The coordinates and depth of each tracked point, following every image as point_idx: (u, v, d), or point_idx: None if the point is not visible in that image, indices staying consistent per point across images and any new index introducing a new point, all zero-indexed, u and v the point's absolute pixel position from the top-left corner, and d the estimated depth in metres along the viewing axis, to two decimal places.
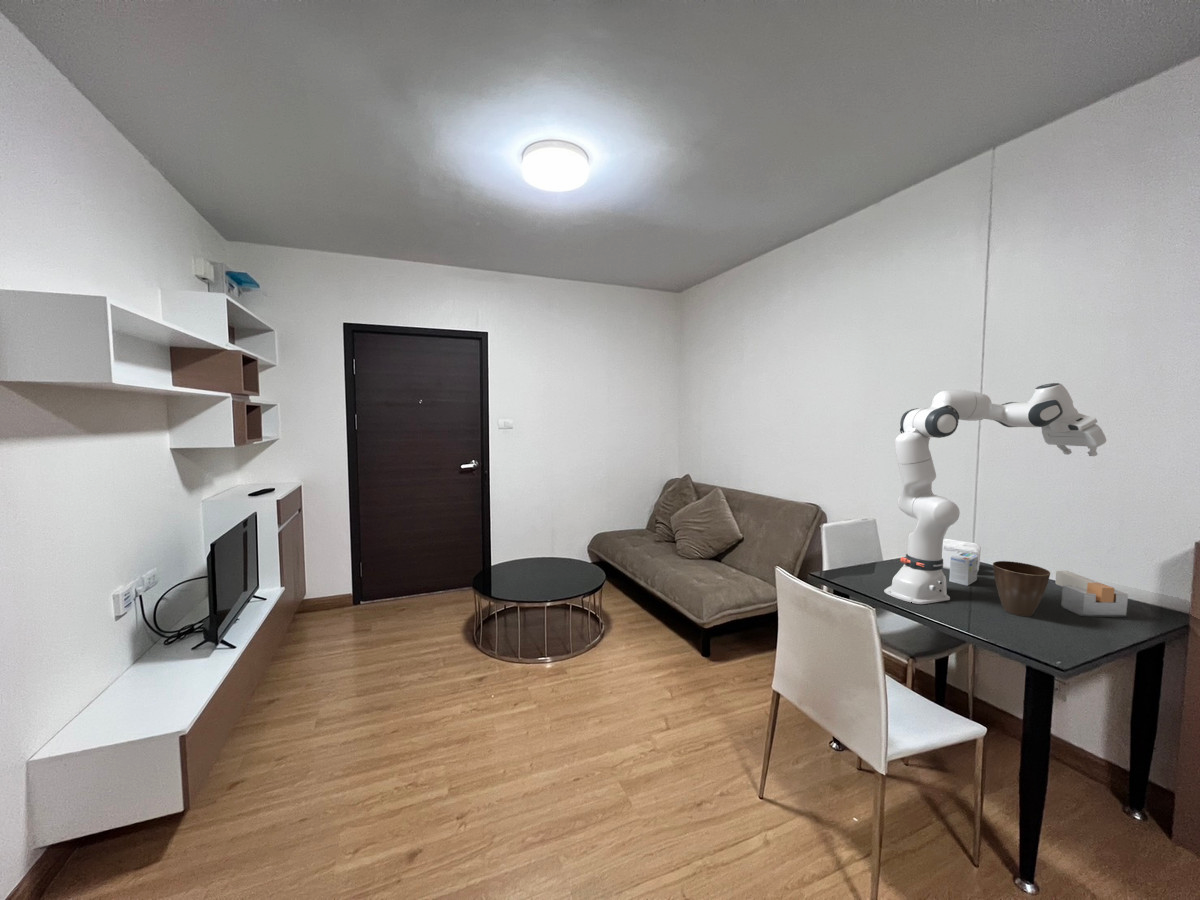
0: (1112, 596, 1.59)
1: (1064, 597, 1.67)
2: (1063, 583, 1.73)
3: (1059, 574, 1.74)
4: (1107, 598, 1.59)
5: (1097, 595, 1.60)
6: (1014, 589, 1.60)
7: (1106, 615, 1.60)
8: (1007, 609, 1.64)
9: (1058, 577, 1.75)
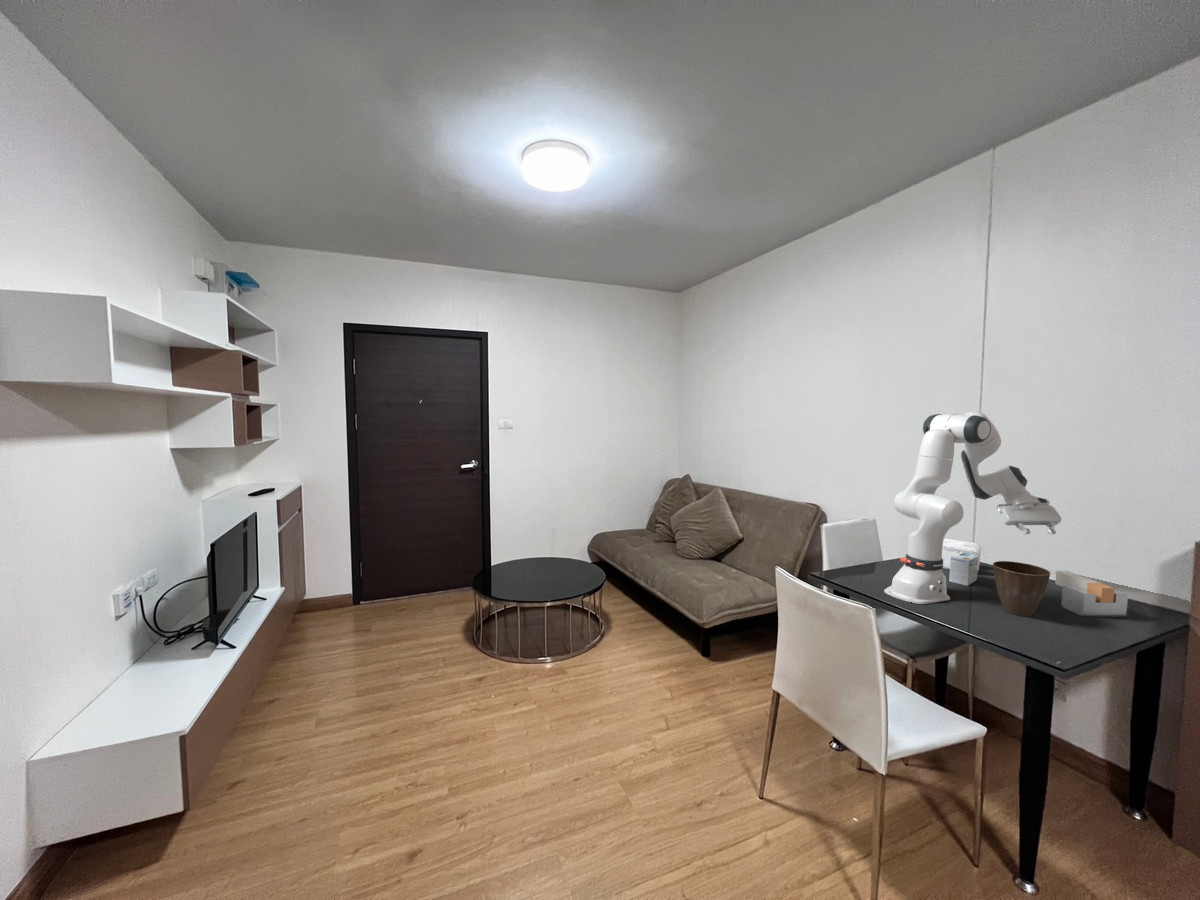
0: (1112, 596, 1.59)
1: (1064, 597, 1.67)
2: (1063, 583, 1.73)
3: (1059, 574, 1.74)
4: (1107, 598, 1.59)
5: (1097, 595, 1.60)
6: (1014, 589, 1.60)
7: (1106, 615, 1.60)
8: (1007, 609, 1.64)
9: (1058, 577, 1.75)
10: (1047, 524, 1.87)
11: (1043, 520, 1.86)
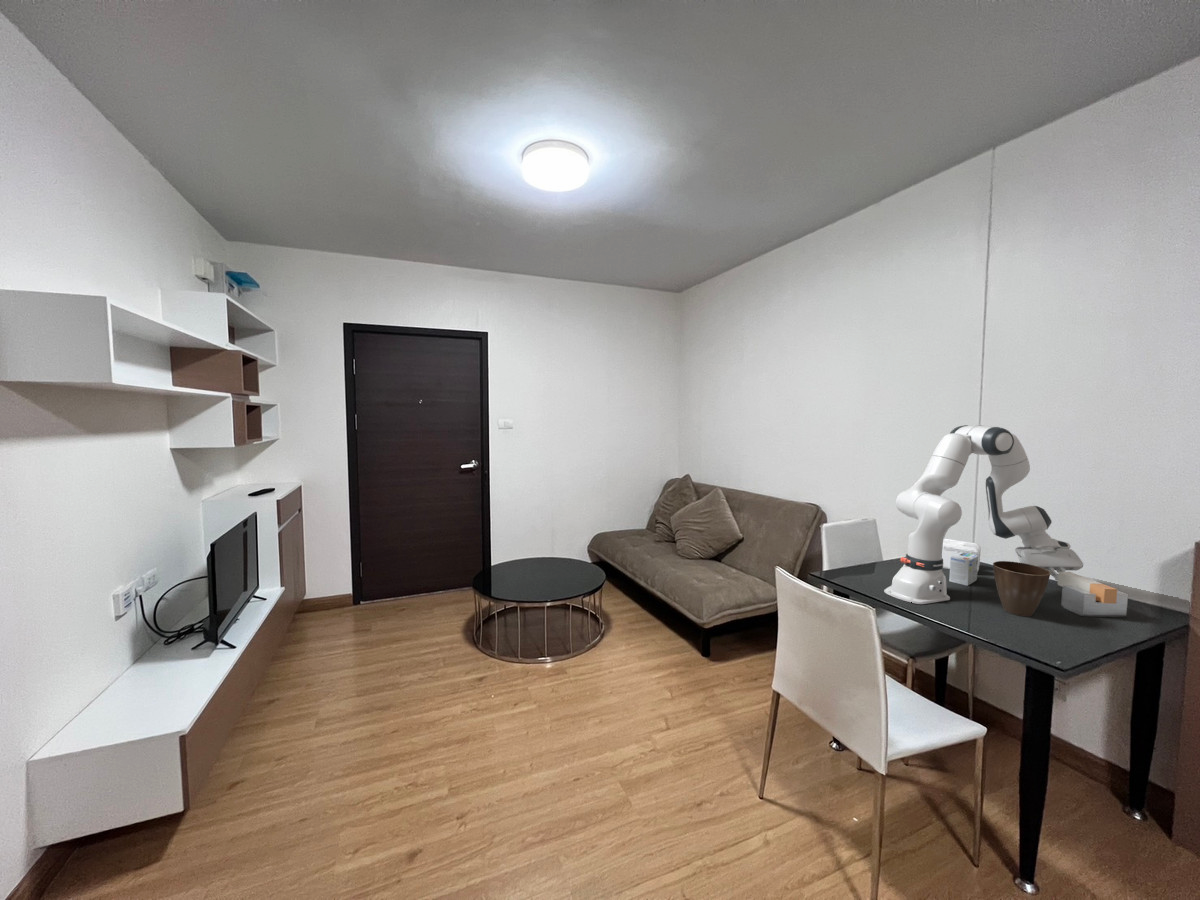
0: (1115, 597, 1.58)
1: (1064, 597, 1.67)
2: (1065, 584, 1.72)
3: (1062, 575, 1.73)
4: (1110, 599, 1.58)
5: (1100, 596, 1.59)
6: (1014, 589, 1.60)
7: (1106, 615, 1.60)
8: (1007, 609, 1.64)
9: (1060, 578, 1.74)
10: (1057, 569, 1.78)
11: (1064, 565, 1.77)
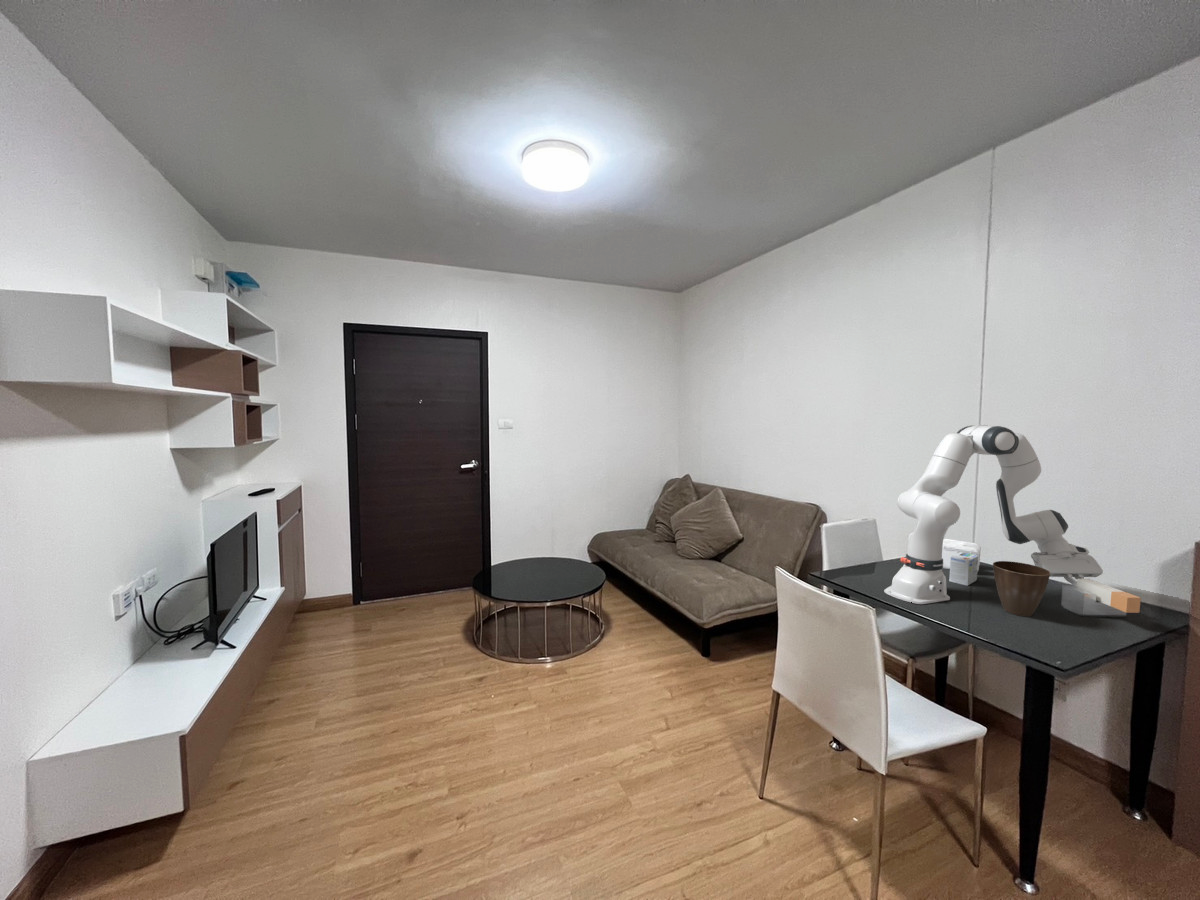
0: (1138, 606, 1.51)
1: (1064, 597, 1.67)
2: None
3: (1081, 582, 1.66)
4: (1133, 608, 1.51)
5: (1122, 605, 1.52)
6: (1014, 589, 1.60)
7: (1106, 615, 1.60)
8: (1007, 609, 1.64)
9: (1079, 585, 1.67)
10: (1075, 576, 1.71)
11: (1083, 572, 1.70)
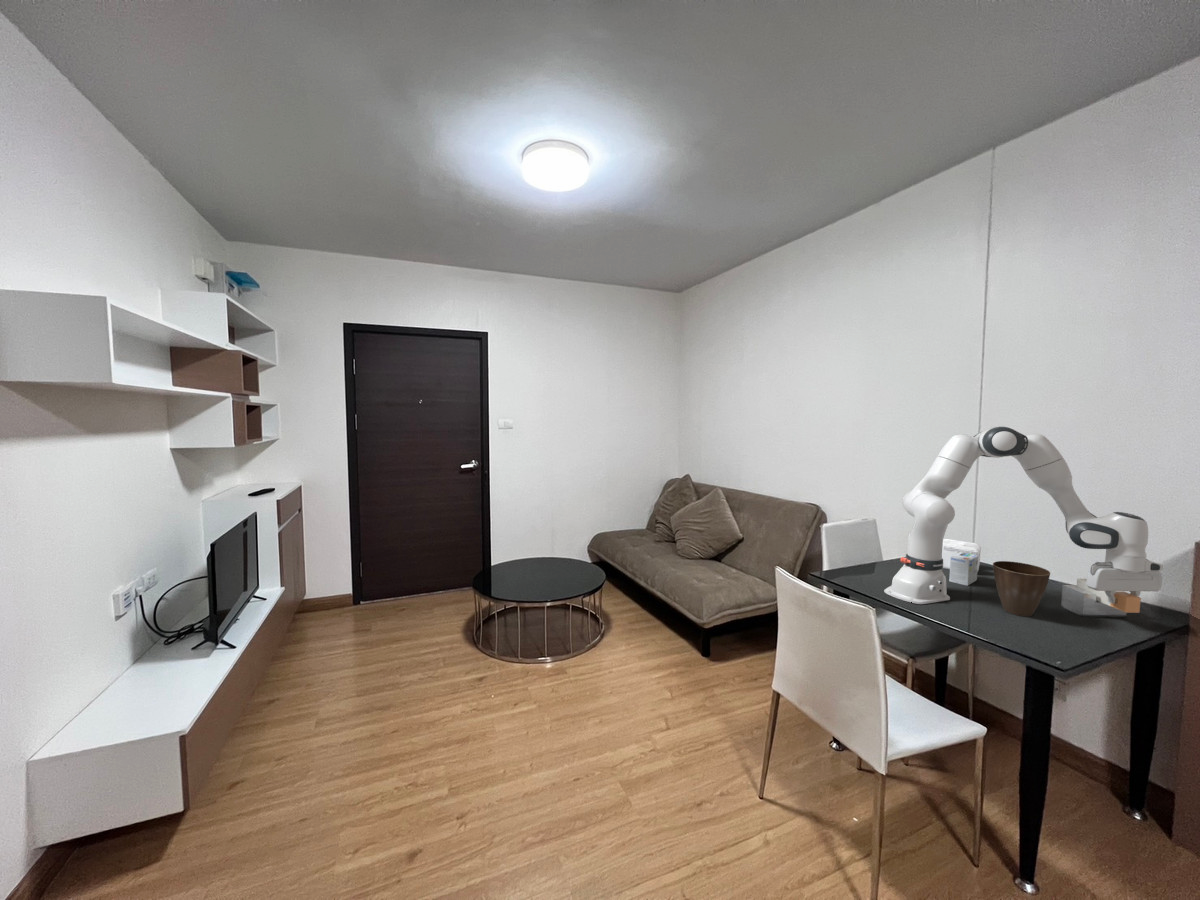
0: (1138, 606, 1.51)
1: (1064, 597, 1.67)
2: None
3: (1081, 583, 1.66)
4: (1133, 608, 1.51)
5: (1122, 605, 1.52)
6: (1014, 589, 1.60)
7: (1106, 615, 1.60)
8: (1007, 609, 1.64)
9: (1079, 585, 1.67)
10: None
11: (1137, 590, 1.52)
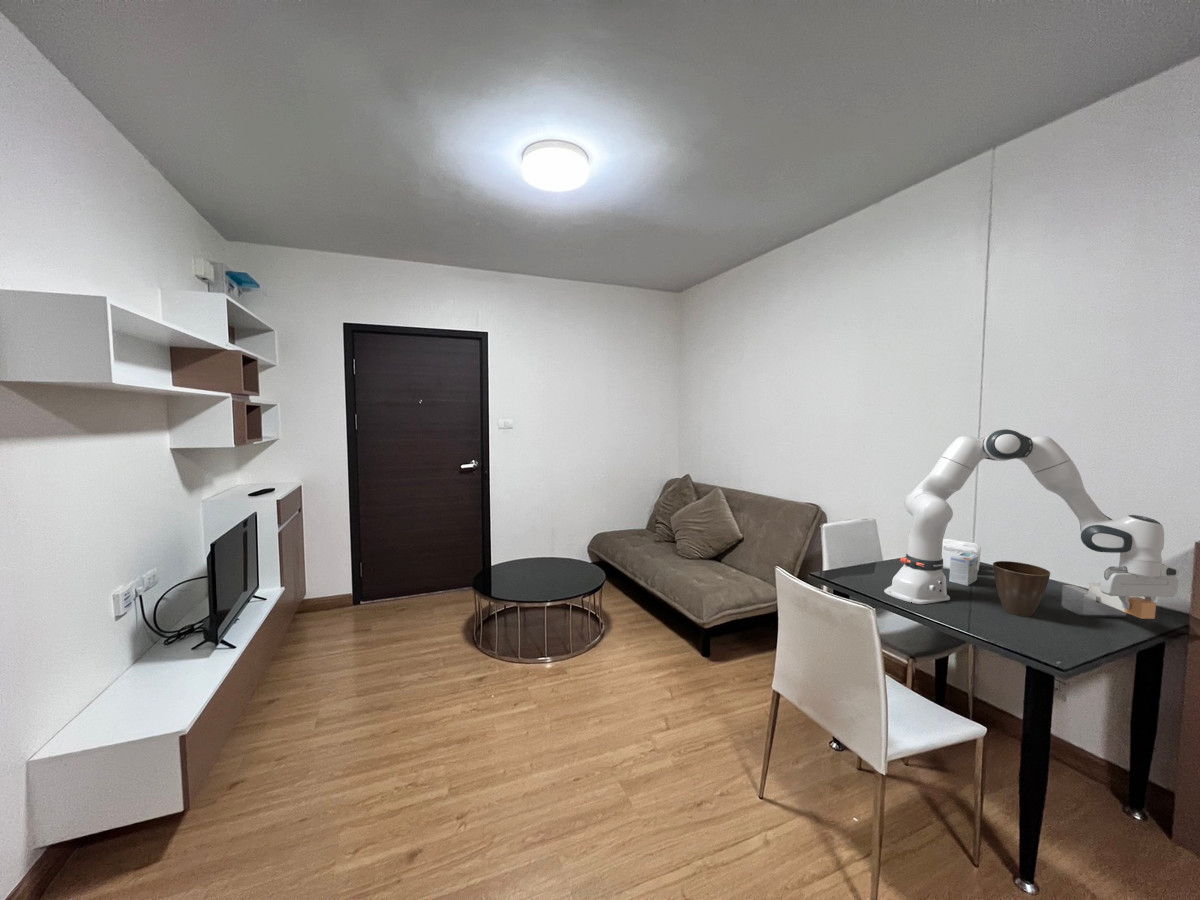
0: (1153, 612, 1.46)
1: (1064, 597, 1.67)
2: (1097, 597, 1.60)
3: (1093, 587, 1.62)
4: (1148, 614, 1.46)
5: (1137, 611, 1.48)
6: (1014, 589, 1.60)
7: (1106, 615, 1.60)
8: (1007, 609, 1.64)
9: (1091, 590, 1.62)
10: None
11: (1152, 595, 1.48)
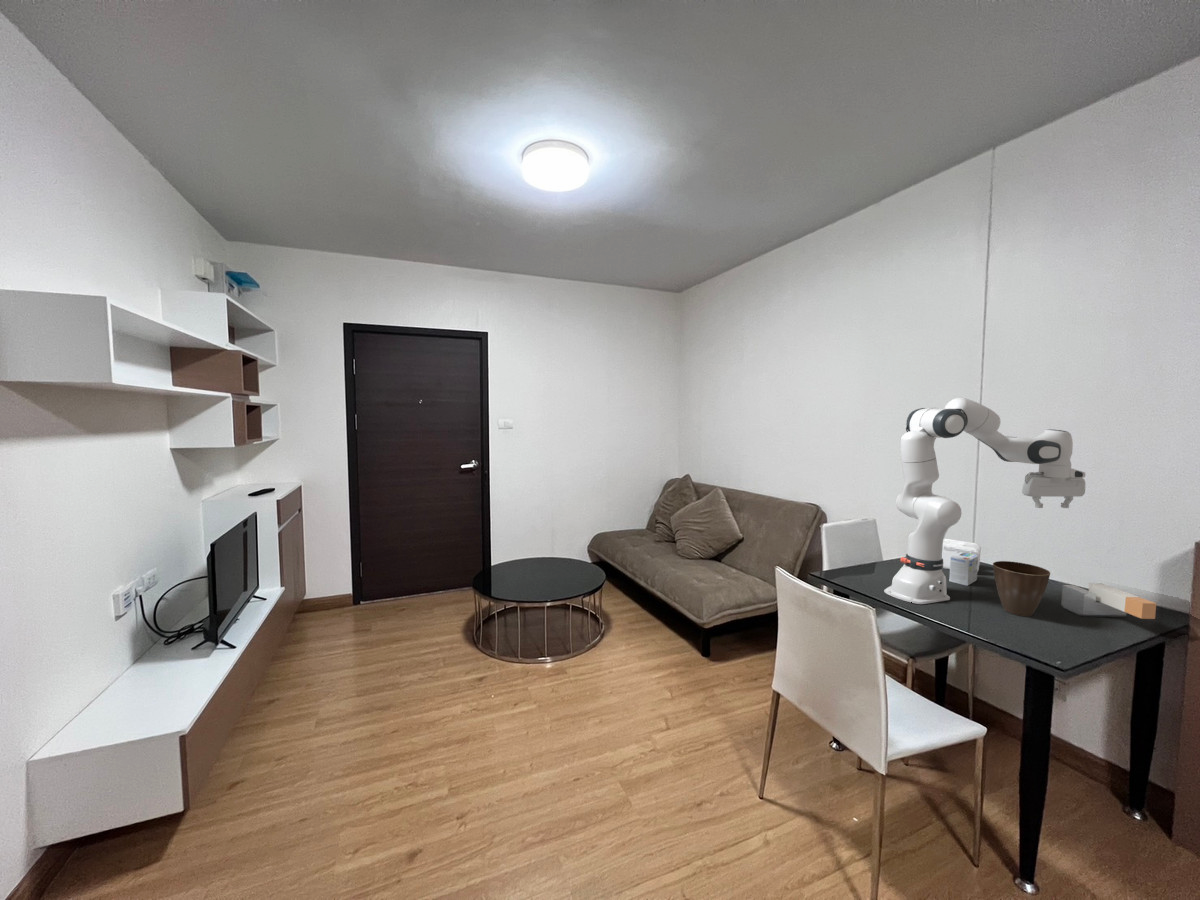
0: (1154, 612, 1.46)
1: (1064, 597, 1.67)
2: (1097, 597, 1.60)
3: (1093, 587, 1.62)
4: (1148, 614, 1.46)
5: (1137, 611, 1.48)
6: (1014, 589, 1.60)
7: (1106, 615, 1.60)
8: (1007, 609, 1.64)
9: (1091, 590, 1.62)
10: None
11: (1064, 495, 1.77)
